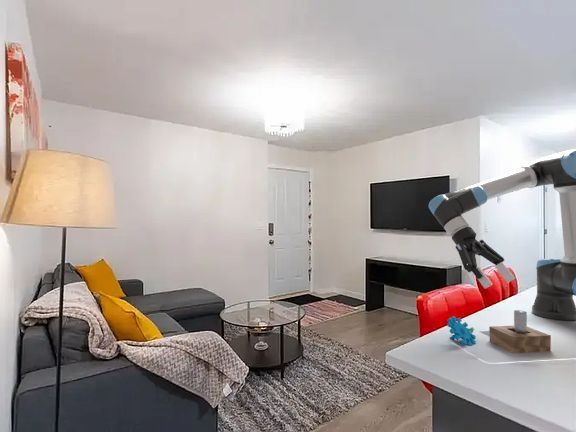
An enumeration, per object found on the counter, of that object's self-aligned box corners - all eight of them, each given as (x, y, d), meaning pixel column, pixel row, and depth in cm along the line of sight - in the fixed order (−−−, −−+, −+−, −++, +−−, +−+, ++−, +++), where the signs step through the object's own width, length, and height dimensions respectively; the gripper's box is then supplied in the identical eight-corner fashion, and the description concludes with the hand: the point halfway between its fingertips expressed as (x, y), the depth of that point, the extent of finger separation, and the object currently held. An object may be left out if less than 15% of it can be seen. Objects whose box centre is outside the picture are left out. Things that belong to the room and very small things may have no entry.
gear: (462, 344, 105) (444, 314, 111) (448, 353, 108) (432, 324, 115) (485, 343, 109) (467, 315, 116) (472, 352, 113) (455, 324, 120)
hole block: (523, 340, 113) (523, 325, 113) (550, 352, 103) (550, 335, 103) (489, 342, 111) (489, 326, 111) (513, 354, 101) (513, 337, 101)
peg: (521, 345, 108) (521, 310, 108) (529, 349, 105) (529, 312, 105) (511, 346, 108) (511, 310, 108) (519, 349, 105) (519, 313, 105)
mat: (505, 331, 122) (505, 330, 122) (523, 339, 114) (523, 338, 114) (479, 332, 120) (479, 331, 120) (495, 340, 113) (495, 339, 113)
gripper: (473, 235, 134) (511, 283, 123) (431, 241, 122) (469, 295, 110) (487, 223, 129) (529, 272, 118) (445, 227, 116) (487, 283, 105)
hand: (500, 283), depth 114 cm, fingers open, 13 cm apart
